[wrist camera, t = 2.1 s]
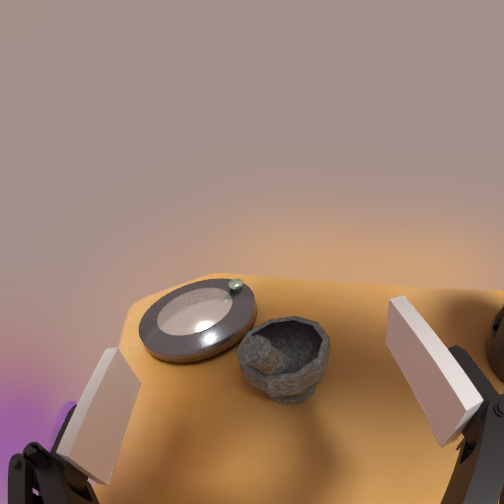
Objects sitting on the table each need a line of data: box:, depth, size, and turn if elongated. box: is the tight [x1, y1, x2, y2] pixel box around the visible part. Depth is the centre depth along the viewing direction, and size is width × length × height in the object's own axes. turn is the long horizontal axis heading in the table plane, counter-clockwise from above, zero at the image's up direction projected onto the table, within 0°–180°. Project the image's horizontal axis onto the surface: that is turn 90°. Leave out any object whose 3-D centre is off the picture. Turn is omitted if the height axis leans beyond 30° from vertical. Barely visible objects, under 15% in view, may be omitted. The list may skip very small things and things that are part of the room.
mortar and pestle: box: [236, 316, 330, 405], centre depth 27 cm, size 11×9×12 cm
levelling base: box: [139, 279, 257, 362], centre depth 44 cm, size 20×20×4 cm
